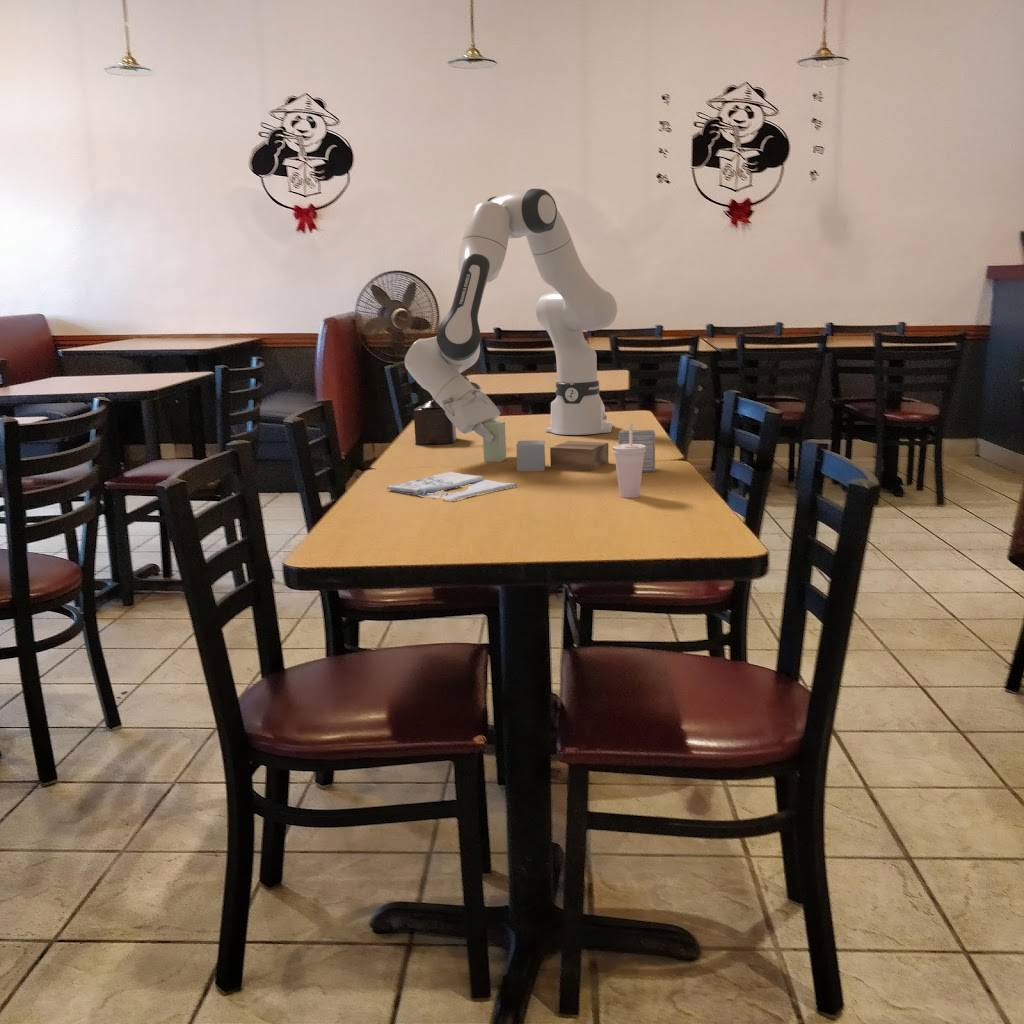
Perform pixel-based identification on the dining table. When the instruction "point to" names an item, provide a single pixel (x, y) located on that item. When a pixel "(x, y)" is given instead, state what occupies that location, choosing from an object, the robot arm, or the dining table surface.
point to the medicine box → (645, 439)
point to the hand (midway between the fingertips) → (496, 437)
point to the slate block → (531, 455)
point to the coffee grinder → (433, 424)
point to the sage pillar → (495, 442)
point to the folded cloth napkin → (449, 485)
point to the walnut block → (579, 455)
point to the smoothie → (629, 467)
